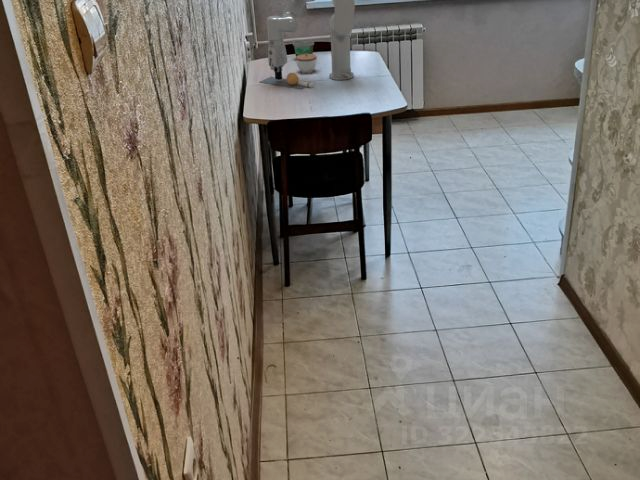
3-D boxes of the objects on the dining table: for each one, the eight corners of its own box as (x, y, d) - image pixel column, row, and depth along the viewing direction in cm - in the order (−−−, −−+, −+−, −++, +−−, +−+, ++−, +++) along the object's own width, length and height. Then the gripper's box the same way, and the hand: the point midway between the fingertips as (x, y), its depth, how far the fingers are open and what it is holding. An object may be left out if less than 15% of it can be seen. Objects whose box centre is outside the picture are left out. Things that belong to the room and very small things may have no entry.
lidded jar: (314, 74, 345) (314, 56, 341) (294, 74, 347) (293, 56, 343) (319, 68, 354) (318, 50, 350) (299, 68, 356) (298, 50, 352)
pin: (299, 85, 331) (313, 87, 327) (296, 85, 329) (310, 87, 325) (299, 81, 330) (313, 83, 326) (297, 80, 329) (311, 83, 324)
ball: (292, 68, 328) (286, 75, 333) (288, 75, 325) (282, 82, 329) (302, 75, 330) (296, 82, 334) (298, 82, 326) (292, 89, 331)
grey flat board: (259, 82, 337) (258, 81, 337) (270, 76, 345) (270, 76, 344) (300, 89, 325) (300, 88, 324) (312, 83, 332) (312, 83, 331)
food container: (290, 60, 370) (289, 42, 365) (294, 57, 375) (293, 39, 370) (311, 61, 366) (310, 43, 361) (315, 58, 371) (314, 40, 366)
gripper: (272, 46, 319) (275, 84, 329) (291, 39, 330) (293, 76, 339) (260, 45, 323) (263, 82, 332) (279, 38, 334) (281, 74, 343)
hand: (278, 78), depth 336 cm, fingers closed
